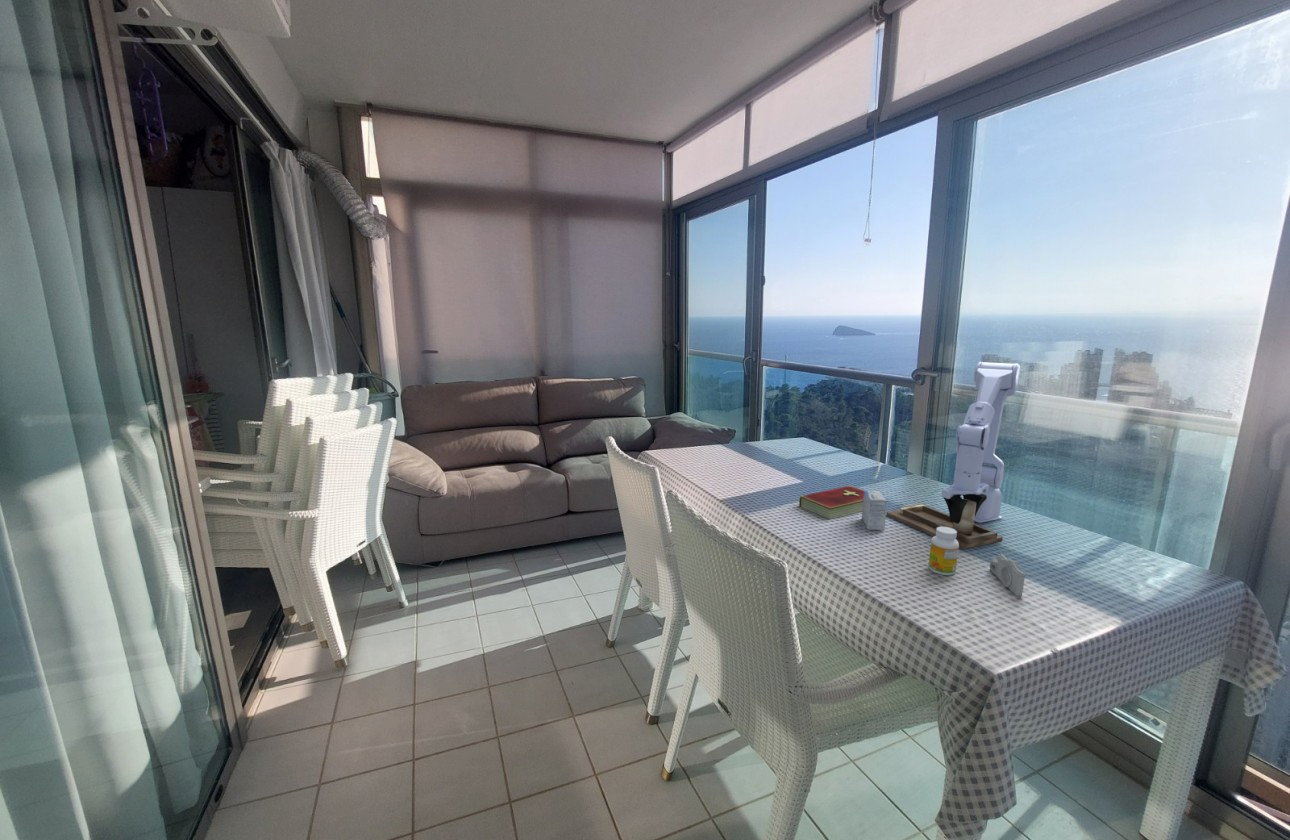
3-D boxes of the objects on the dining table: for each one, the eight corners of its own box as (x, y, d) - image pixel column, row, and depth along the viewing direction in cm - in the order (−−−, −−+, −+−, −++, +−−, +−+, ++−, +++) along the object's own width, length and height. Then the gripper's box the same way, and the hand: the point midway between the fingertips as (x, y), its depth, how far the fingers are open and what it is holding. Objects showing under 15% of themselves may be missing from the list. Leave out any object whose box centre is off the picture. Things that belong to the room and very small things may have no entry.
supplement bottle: (923, 564, 120) (928, 525, 118) (947, 564, 120) (952, 525, 118) (935, 575, 115) (940, 534, 113) (960, 576, 115) (965, 535, 113)
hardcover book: (798, 507, 157) (799, 494, 156) (847, 496, 167) (848, 484, 166) (829, 521, 147) (830, 507, 146) (879, 508, 156) (880, 495, 155)
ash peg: (960, 526, 138) (964, 497, 136) (976, 532, 134) (980, 503, 132) (948, 528, 137) (951, 500, 135) (964, 535, 132) (967, 505, 131)
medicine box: (884, 531, 139) (887, 500, 137) (867, 529, 140) (869, 499, 138) (877, 520, 146) (880, 490, 145) (861, 518, 147) (863, 489, 146)
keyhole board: (922, 508, 155) (923, 500, 154) (1001, 540, 133) (1003, 531, 132) (886, 515, 150) (887, 507, 149) (962, 549, 128) (963, 539, 127)
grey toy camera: (987, 569, 118) (991, 545, 117) (996, 569, 118) (999, 545, 116) (1015, 596, 106) (1019, 570, 105) (1024, 597, 106) (1028, 571, 105)
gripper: (961, 478, 126) (955, 530, 129) (1003, 472, 131) (996, 522, 134) (936, 470, 133) (931, 520, 135) (977, 464, 138) (970, 512, 140)
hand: (961, 520), depth 135 cm, fingers closed on ash peg, 4 cm apart
